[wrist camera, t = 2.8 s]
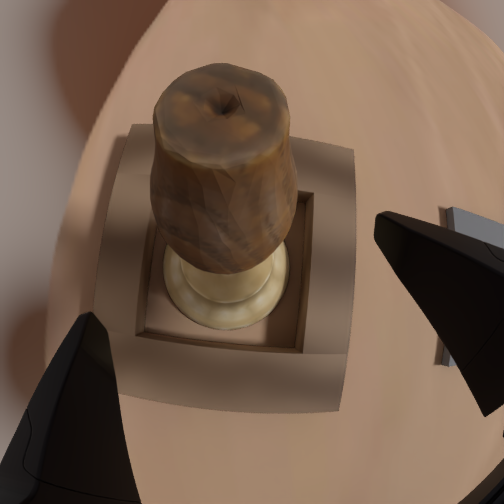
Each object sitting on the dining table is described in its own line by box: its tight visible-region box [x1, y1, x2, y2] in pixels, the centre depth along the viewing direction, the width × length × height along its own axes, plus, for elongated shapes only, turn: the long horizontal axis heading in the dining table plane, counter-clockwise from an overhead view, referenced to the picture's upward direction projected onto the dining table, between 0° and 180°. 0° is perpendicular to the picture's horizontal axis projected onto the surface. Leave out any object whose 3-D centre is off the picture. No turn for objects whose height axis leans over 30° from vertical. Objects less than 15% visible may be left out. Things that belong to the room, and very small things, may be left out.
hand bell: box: [150, 63, 298, 330], centre depth 10 cm, size 8×8×16 cm
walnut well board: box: [93, 124, 356, 413], centre depth 17 cm, size 18×16×2 cm
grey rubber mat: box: [441, 207, 504, 367], centre depth 19 cm, size 14×14×1 cm
